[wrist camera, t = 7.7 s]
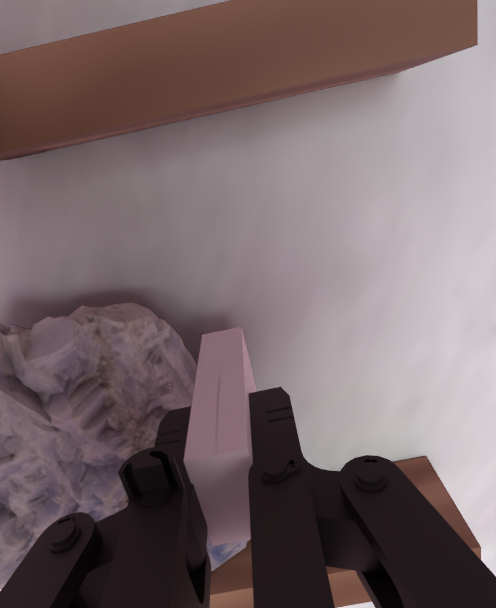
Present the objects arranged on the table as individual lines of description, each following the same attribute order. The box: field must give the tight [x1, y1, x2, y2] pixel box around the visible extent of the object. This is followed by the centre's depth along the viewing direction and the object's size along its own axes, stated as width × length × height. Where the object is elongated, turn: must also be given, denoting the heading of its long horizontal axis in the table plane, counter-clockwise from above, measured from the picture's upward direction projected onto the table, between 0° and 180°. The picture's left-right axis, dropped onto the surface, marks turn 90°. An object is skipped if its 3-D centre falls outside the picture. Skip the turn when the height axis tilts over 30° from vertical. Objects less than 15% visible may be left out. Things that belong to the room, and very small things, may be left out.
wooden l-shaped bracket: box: [0, 0, 481, 608], centre depth 14 cm, size 21×14×9 cm, turn 12°
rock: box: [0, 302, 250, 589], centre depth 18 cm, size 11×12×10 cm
